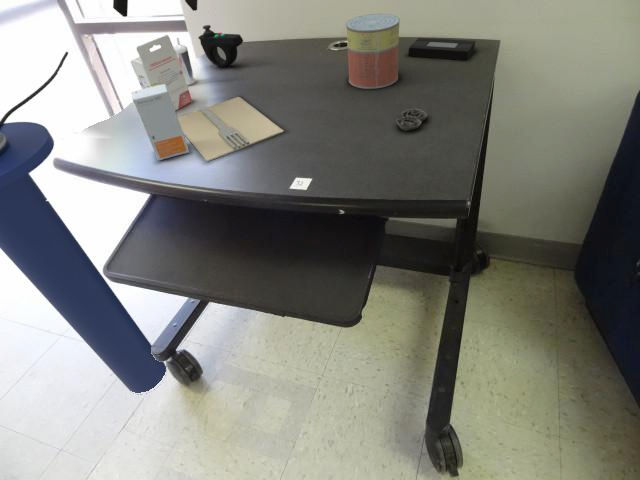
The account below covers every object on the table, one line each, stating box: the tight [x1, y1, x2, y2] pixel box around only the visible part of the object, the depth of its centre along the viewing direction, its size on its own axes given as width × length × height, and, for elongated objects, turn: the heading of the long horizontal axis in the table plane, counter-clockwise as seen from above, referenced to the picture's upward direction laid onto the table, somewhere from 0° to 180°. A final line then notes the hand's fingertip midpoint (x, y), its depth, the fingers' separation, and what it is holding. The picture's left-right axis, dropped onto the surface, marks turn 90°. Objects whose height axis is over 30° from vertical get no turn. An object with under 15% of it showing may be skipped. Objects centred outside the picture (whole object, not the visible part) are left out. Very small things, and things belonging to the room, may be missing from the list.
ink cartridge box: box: [129, 34, 193, 111], centre depth 87 cm, size 9×5×15 cm, turn 143°
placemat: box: [177, 96, 285, 162], centre depth 82 cm, size 22×16×1 cm
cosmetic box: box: [131, 84, 190, 161], centre depth 72 cm, size 6×4×12 cm
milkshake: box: [173, 37, 196, 86], centre depth 99 cm, size 4×5×10 cm
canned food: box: [345, 13, 401, 90], centre depth 88 cm, size 11×11×12 cm
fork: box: [199, 106, 249, 150], centre depth 81 cm, size 21×3×1 cm, turn 32°
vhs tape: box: [408, 37, 476, 61], centre depth 99 cm, size 8×14×2 cm, turn 61°
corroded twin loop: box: [395, 107, 428, 132], centre depth 75 cm, size 5×8×1 cm, turn 151°
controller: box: [197, 24, 244, 68], centre depth 105 cm, size 4×12×10 cm, turn 66°
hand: (155, 9), depth 69 cm, fingers open, 13 cm apart
